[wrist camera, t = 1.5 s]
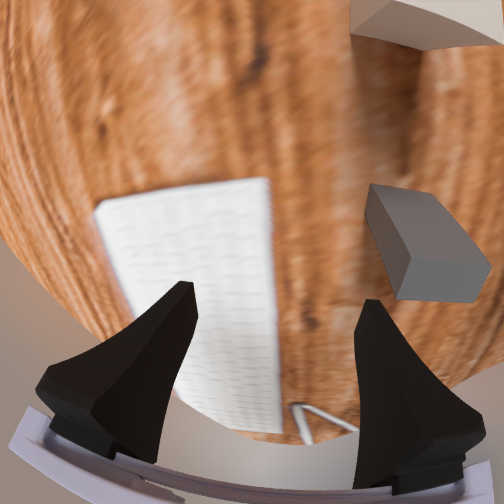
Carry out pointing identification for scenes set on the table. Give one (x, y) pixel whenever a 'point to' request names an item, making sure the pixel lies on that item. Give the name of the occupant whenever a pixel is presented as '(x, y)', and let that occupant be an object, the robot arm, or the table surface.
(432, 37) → the domino
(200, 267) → the table surface
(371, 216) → the domino
